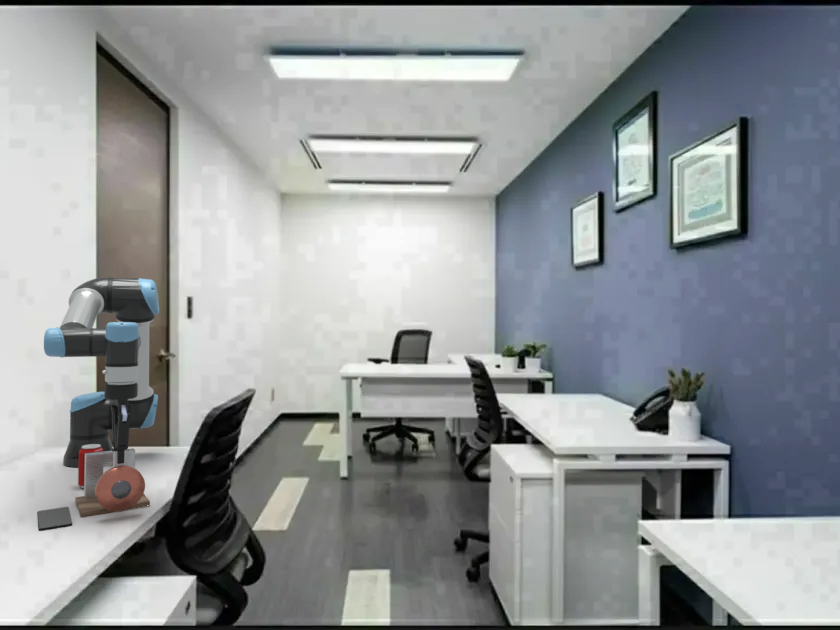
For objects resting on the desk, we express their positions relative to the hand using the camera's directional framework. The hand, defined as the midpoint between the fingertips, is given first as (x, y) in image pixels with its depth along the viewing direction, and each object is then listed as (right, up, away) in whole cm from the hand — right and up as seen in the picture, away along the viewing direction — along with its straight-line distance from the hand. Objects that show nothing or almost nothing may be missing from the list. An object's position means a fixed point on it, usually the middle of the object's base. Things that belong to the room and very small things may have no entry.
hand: (119, 475), depth 147 cm
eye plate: (-9, -10, +13) cm, 19 cm away
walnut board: (-7, -10, +9) cm, 15 cm away
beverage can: (-21, -10, +23) cm, 33 cm away
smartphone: (-15, -11, -3) cm, 18 cm away
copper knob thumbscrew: (-3, -8, +4) cm, 10 cm away
